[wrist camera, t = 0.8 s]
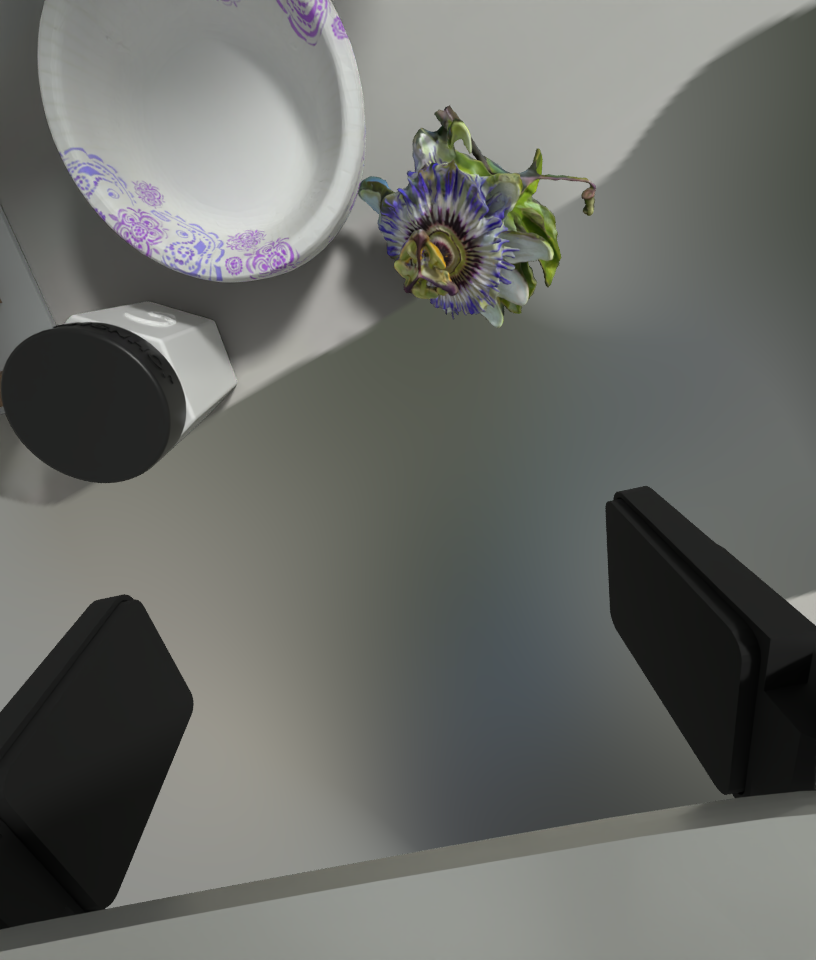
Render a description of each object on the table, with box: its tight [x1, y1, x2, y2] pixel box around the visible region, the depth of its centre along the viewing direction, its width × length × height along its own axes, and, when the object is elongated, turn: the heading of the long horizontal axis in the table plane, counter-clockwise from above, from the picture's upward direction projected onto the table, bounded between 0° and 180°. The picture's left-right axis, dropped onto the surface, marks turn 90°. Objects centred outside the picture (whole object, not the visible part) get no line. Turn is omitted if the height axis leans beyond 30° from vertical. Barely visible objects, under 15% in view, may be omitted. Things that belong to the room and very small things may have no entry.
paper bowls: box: [37, 0, 366, 282], centre depth 27 cm, size 15×15×8 cm
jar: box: [1, 301, 237, 483], centre depth 30 cm, size 9×8×12 cm
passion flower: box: [358, 105, 596, 328], centre depth 30 cm, size 11×11×12 cm
